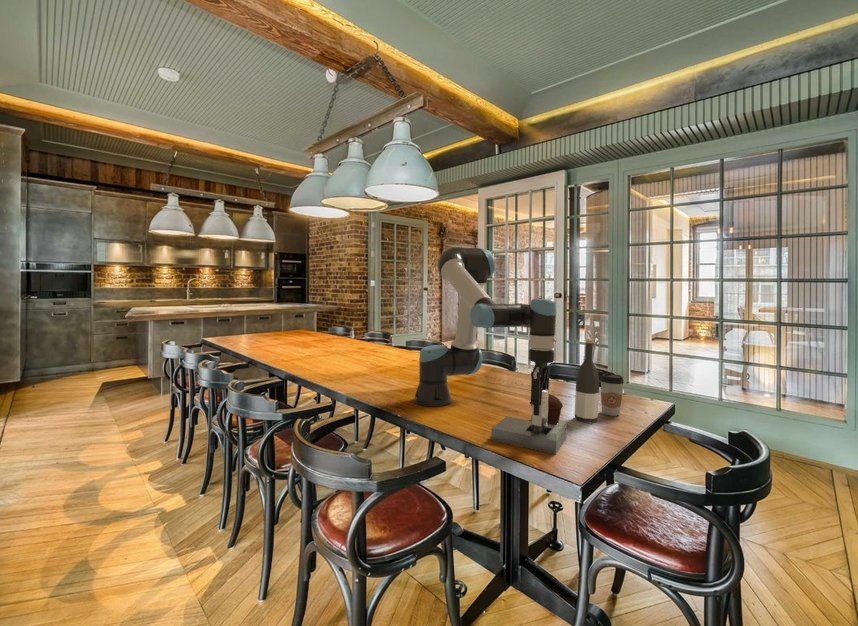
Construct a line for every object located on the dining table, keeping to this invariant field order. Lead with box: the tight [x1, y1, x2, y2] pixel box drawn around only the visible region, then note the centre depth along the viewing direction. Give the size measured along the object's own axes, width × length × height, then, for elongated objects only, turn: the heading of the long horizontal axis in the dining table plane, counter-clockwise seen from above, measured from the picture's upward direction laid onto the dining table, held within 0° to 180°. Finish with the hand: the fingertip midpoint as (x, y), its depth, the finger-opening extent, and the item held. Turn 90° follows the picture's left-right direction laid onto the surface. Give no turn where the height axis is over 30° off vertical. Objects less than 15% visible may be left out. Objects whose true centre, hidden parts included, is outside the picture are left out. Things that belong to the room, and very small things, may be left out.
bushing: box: [530, 389, 550, 435], centre depth 128 cm, size 5×5×14 cm
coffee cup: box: [599, 373, 625, 417], centre depth 160 cm, size 8×8×15 cm
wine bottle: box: [574, 338, 600, 424], centre depth 151 cm, size 8×8×30 cm
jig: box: [490, 416, 568, 455], centre depth 130 cm, size 20×14×6 cm
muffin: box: [530, 393, 564, 425], centre depth 148 cm, size 12×11×10 cm
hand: (539, 422), depth 129 cm, fingers closed on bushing, 5 cm apart
